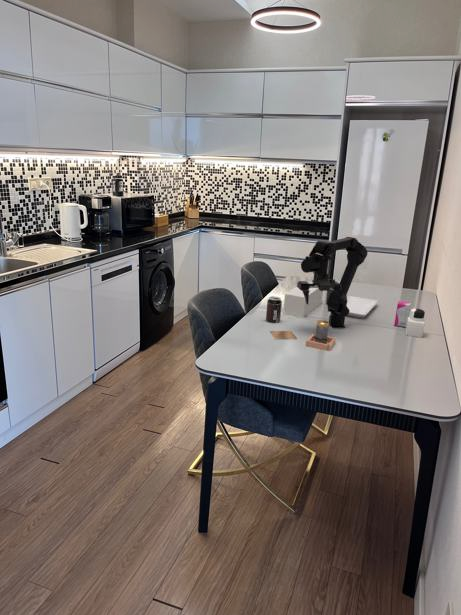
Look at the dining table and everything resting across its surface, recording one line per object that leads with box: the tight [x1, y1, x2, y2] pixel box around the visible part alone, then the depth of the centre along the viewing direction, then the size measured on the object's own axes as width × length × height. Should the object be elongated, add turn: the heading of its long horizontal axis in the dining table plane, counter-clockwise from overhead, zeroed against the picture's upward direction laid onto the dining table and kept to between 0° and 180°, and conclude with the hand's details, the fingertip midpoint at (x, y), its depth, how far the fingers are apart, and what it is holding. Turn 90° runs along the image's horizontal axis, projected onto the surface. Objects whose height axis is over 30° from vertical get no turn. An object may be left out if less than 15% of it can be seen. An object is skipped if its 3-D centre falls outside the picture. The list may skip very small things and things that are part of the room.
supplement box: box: [393, 301, 412, 329], centre depth 223 cm, size 6×6×12 cm
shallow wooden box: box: [305, 333, 337, 352], centre depth 192 cm, size 10×10×3 cm
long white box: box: [282, 281, 324, 319], centre depth 242 cm, size 32×11×11 cm, turn 153°
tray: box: [346, 295, 379, 319], centre depth 245 cm, size 17×31×4 cm, turn 152°
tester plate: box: [269, 330, 298, 341], centre depth 201 cm, size 10×10×1 cm
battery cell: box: [314, 319, 330, 344], centre depth 191 cm, size 5×5×10 cm
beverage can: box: [265, 295, 283, 324], centre depth 217 cm, size 7×7×12 cm
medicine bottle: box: [405, 308, 426, 338], centre depth 212 cm, size 7×7×12 cm
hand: (317, 304), depth 205 cm, fingers open, 9 cm apart
